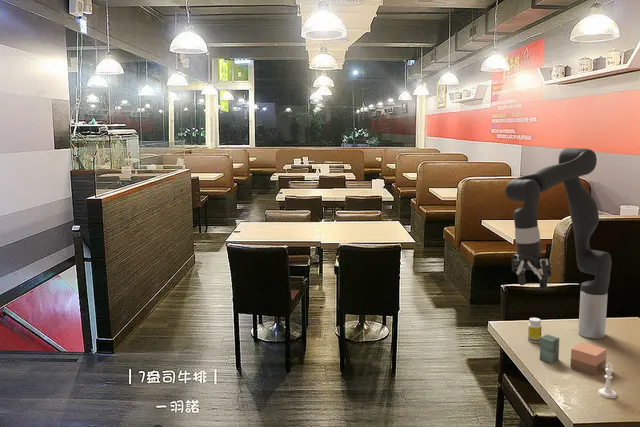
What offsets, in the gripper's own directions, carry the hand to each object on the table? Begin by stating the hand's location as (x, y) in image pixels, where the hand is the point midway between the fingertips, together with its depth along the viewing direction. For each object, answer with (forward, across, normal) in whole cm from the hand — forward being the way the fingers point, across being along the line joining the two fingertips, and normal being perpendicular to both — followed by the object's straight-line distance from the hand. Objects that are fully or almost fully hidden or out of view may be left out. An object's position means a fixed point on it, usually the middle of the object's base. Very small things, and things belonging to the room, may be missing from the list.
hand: (532, 287), depth 180 cm
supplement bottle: (+29, +17, -16) cm, 37 cm away
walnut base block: (+30, -9, -12) cm, 34 cm away
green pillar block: (+29, +2, -6) cm, 30 cm away
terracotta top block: (+27, -9, -12) cm, 31 cm away
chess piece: (+30, -24, -1) cm, 38 cm away
